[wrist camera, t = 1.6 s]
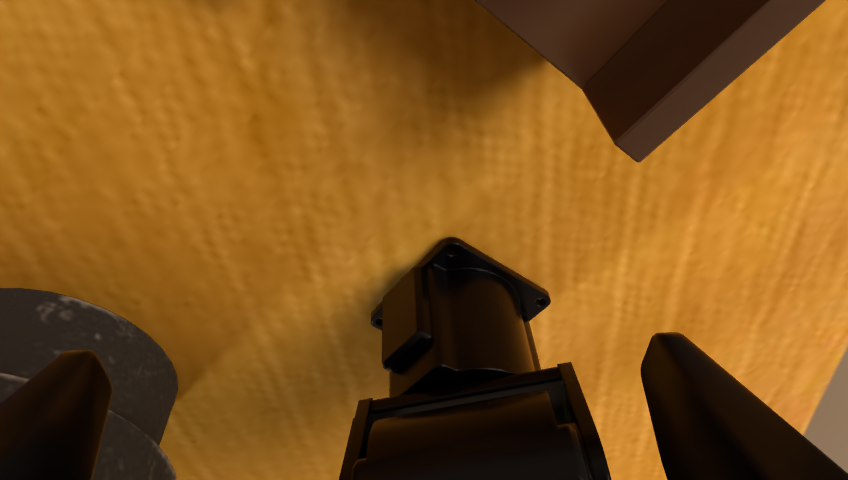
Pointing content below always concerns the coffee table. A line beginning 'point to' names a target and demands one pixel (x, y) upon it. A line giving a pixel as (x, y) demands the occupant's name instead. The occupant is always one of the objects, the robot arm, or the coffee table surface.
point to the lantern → (123, 361)
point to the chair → (650, 53)
